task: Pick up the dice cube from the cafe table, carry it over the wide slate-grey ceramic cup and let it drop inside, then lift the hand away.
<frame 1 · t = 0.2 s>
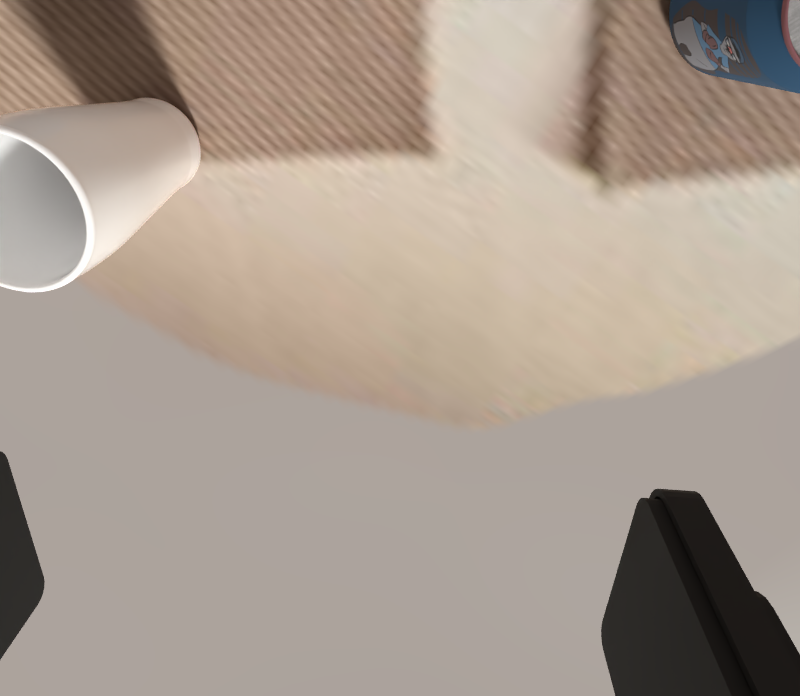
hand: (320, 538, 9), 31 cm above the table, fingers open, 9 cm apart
soda can: (728, 1, 32), on the table
drinking glass: (161, 143, 37), on the table
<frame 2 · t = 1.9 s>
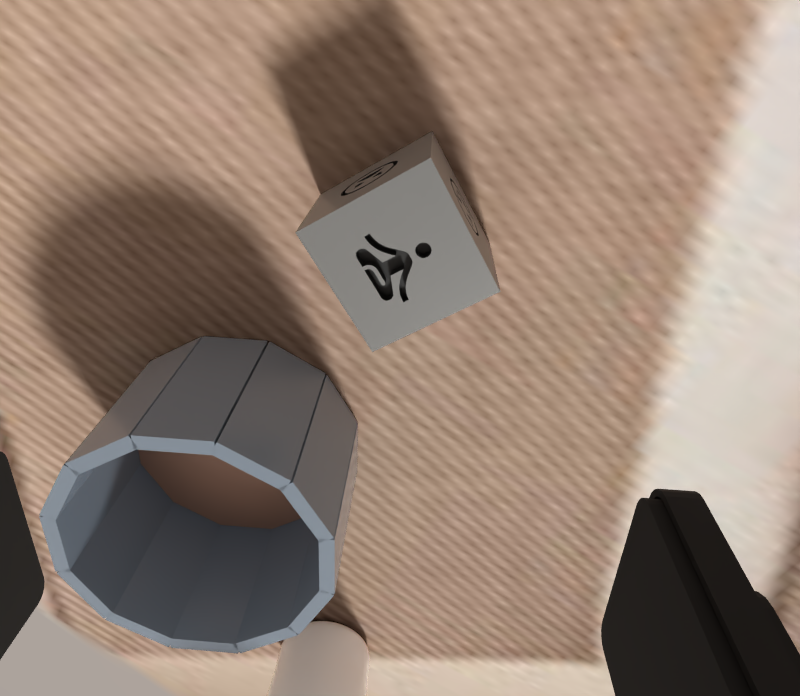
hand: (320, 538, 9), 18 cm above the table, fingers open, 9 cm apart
dice cube: (406, 217, 25), on the table
cup: (244, 439, 31), on the table
drinking glass: (327, 642, 38), on the table
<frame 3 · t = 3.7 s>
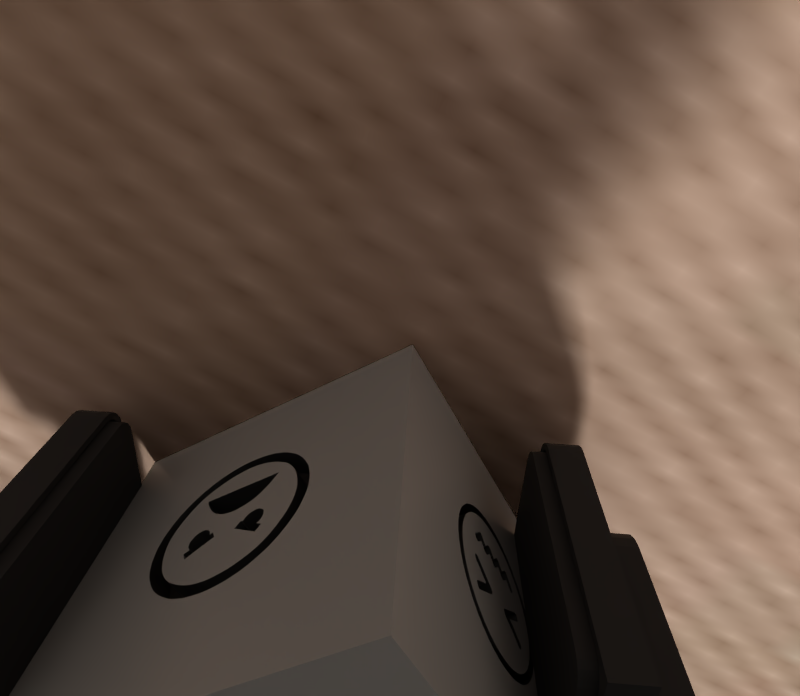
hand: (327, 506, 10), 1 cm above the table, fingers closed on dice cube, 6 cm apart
dice cube: (355, 506, 11), on the table, touching gripper
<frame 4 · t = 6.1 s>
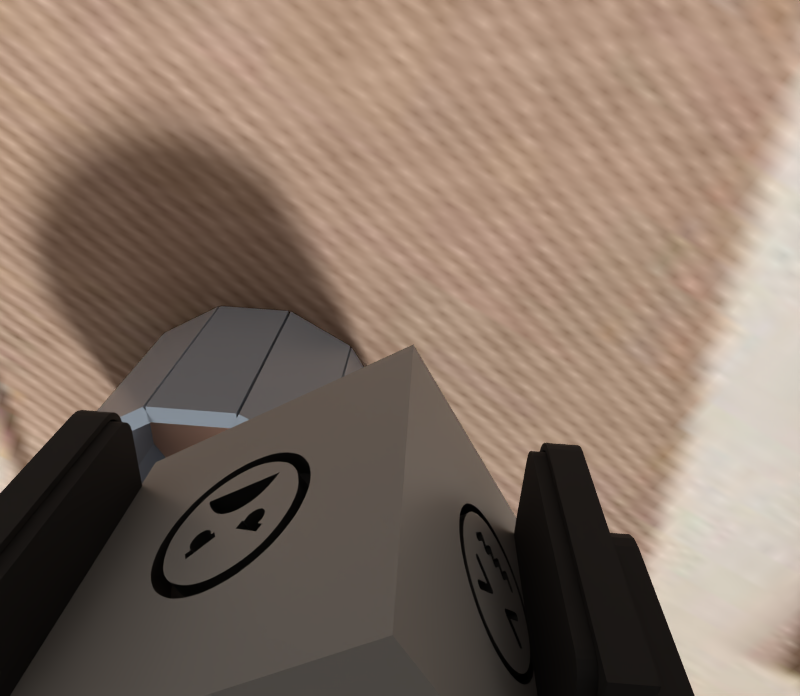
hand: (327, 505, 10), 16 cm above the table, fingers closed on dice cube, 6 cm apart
dice cube: (356, 506, 11), point 15 cm above the table, touching gripper
cup: (262, 417, 29), on the table
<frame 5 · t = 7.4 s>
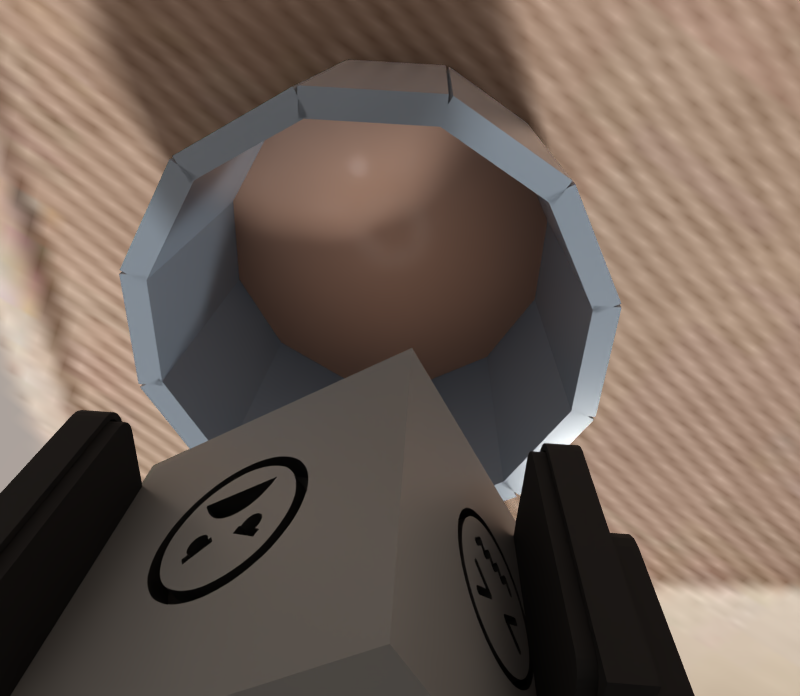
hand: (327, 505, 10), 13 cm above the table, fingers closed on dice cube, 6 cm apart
dice cube: (354, 509, 11), point 12 cm above the table, touching gripper
cup: (389, 243, 21), on the table
when the fingers open (9 cm above the table, at t = 8.4 s): dice cube drops 8 cm, resting on cup.
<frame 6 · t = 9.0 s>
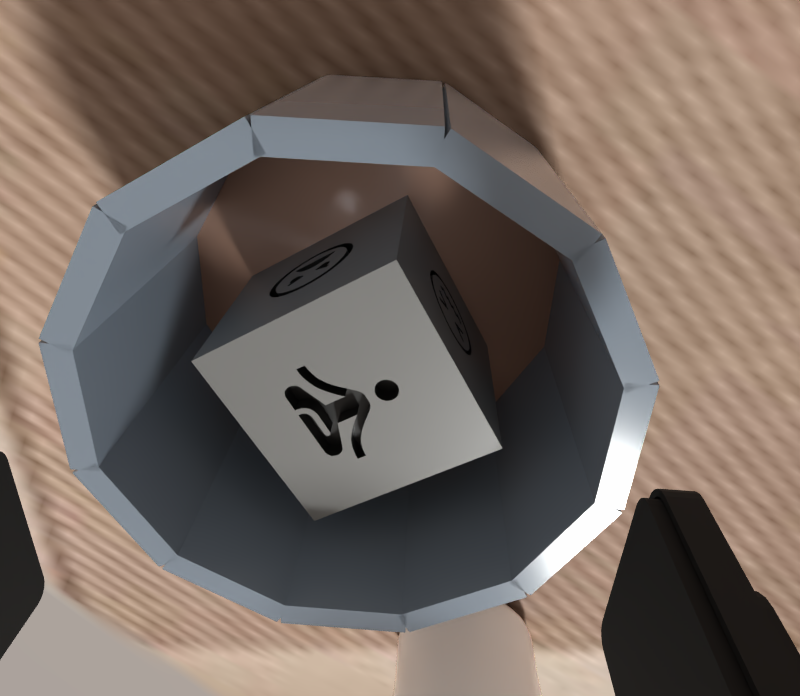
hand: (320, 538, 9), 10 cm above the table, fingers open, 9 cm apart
dice cube: (372, 308, 18), point 1 cm above the table, touching cup
cup: (377, 282, 19), on the table
drinking glass: (463, 627, 26), on the table
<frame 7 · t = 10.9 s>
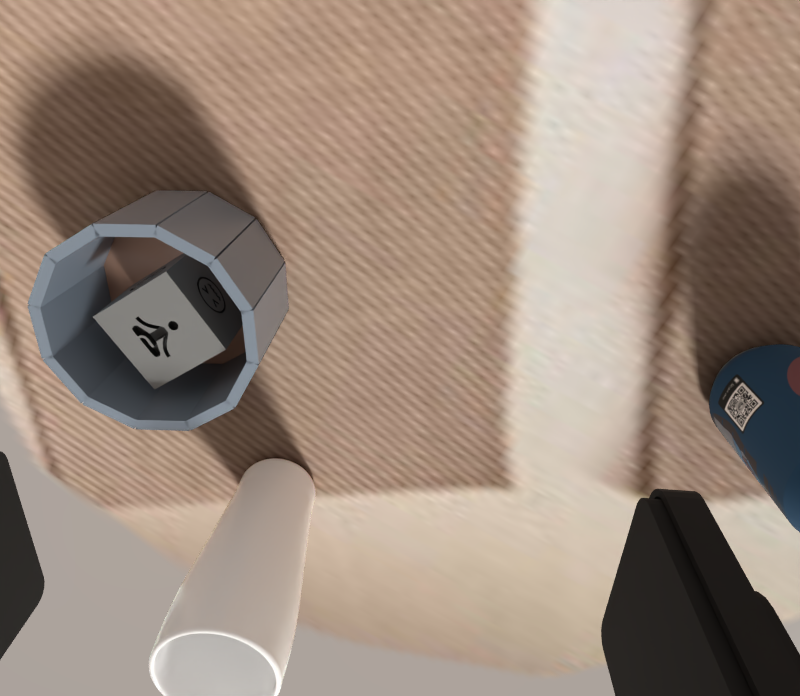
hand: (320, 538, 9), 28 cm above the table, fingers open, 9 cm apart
dice cube: (193, 297, 38), point 1 cm above the table, touching cup
soda can: (756, 384, 39), on the table
cup: (195, 283, 38), on the table
drinking glass: (280, 483, 44), on the table
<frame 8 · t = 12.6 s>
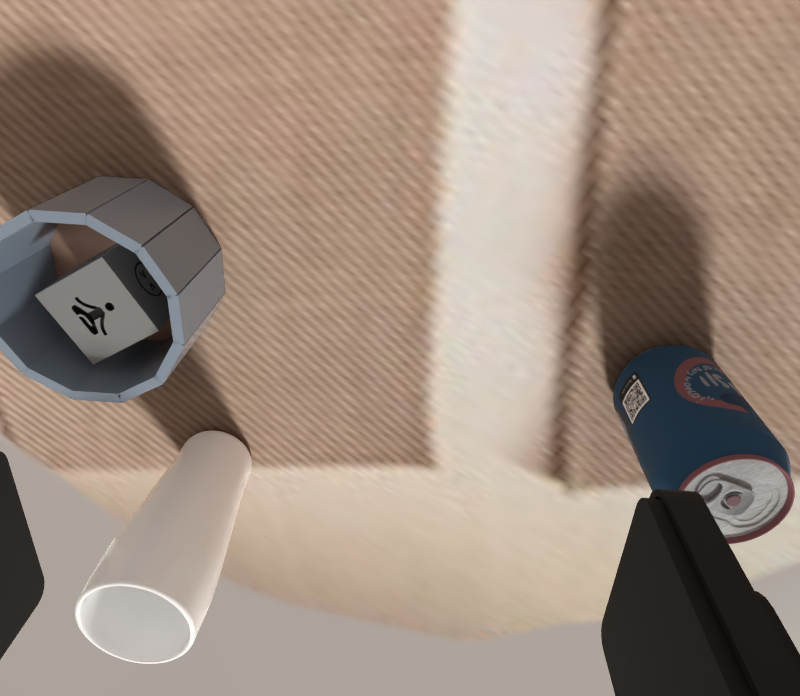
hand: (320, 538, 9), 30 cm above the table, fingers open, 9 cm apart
dice cube: (136, 279, 40), point 1 cm above the table, touching cup
soda can: (660, 380, 43), on the table
cup: (137, 265, 40), on the table
drinking glass: (220, 454, 47), on the table
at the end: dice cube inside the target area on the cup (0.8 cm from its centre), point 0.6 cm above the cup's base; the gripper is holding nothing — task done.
